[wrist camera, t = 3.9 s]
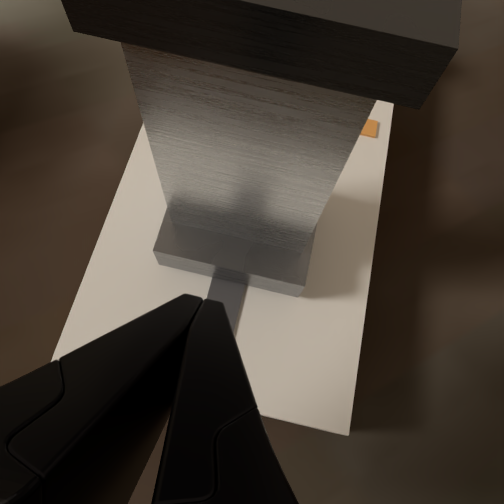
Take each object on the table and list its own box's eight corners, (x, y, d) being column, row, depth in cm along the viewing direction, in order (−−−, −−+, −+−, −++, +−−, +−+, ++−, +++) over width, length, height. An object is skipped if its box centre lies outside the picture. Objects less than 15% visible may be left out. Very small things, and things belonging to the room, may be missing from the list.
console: (330, 432, 16) (362, 438, 12) (75, 369, 16) (31, 357, 13) (385, 69, 23) (417, 1, 19) (200, 27, 23) (195, -48, 19)
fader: (306, 299, 15) (454, 96, 5) (150, 262, 15) (19, -2, 5) (325, 199, 16) (469, -104, 7) (182, 166, 16) (123, -179, 7)
